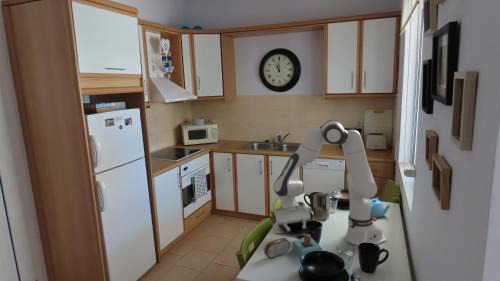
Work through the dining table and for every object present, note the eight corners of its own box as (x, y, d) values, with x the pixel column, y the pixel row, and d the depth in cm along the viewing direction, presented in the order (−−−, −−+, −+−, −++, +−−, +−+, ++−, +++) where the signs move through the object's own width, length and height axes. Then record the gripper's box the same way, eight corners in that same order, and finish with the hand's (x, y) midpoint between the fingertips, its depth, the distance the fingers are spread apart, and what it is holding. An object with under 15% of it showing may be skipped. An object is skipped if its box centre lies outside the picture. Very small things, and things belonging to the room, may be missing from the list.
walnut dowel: (308, 250, 168) (308, 233, 166) (311, 254, 165) (311, 236, 163) (302, 251, 167) (302, 234, 165) (305, 255, 164) (305, 237, 162)
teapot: (357, 210, 218) (357, 195, 216) (377, 208, 221) (377, 193, 219) (369, 219, 203) (370, 204, 201) (390, 217, 206) (391, 202, 204)
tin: (287, 249, 170) (287, 235, 168) (290, 252, 167) (290, 237, 166) (263, 258, 162) (263, 243, 161) (267, 260, 160) (267, 245, 158)
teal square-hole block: (311, 246, 173) (311, 237, 172) (321, 256, 162) (321, 247, 161) (293, 249, 170) (293, 241, 169) (302, 260, 159) (302, 251, 158)
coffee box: (329, 217, 208) (330, 193, 205) (326, 220, 203) (326, 197, 200) (316, 214, 213) (316, 191, 210) (312, 217, 208) (313, 194, 205)
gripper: (274, 207, 178) (281, 230, 170) (307, 202, 184) (314, 225, 176) (271, 211, 183) (278, 234, 175) (303, 206, 189) (310, 228, 181)
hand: (296, 229), depth 176 cm, fingers open, 8 cm apart
